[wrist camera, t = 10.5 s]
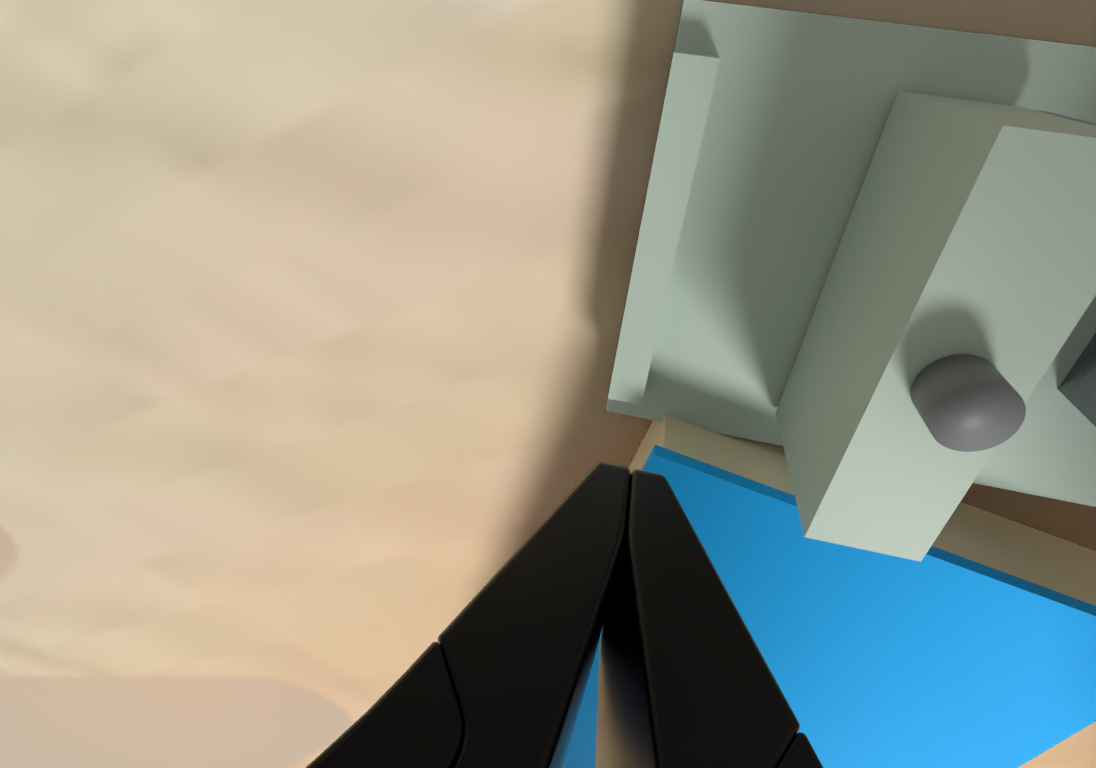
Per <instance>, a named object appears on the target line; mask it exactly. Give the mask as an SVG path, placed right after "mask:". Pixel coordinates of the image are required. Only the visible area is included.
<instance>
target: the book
mask: <svg viewBox="0 0 1096 768" xmlns="http://www.w3.org/2000/svg"><path fill="white" fill-rule="evenodd" d="M628 469H629V471H630V474H631V472H632V471H633V470H635V469H639V470H643V471H648V472H653V473H658V474H661V475H663V476H664V477H665V478H666V479H667V481H668V483H669V485H670V486H671V488H672V490H673V492H674V494H675V496H676V497H677V499H678V501H679V503H680V505H681V507H682V508H683V510H684V512H685V514H686V516H687V518H688V519H689V521H690V523H691V525H692V527H693V529H694V531H695V532H696V534H697V536H698V538H699V540H700V542H701V543H702V545H703V547H704V549H705V551H706V553H707V554H708V556H709V558H710V560H711V562H712V564H713V566H714V567H715V569H716V571H717V573H718V575H719V577H720V578H721V580H722V582H723V584H724V586H725V588H726V589H727V591H728V593H729V595H730V597H731V599H732V601H733V602H734V604H735V606H736V608H737V610H738V612H739V613H740V615H741V617H742V619H743V621H744V623H745V624H746V626H747V628H748V630H749V632H750V634H751V636H752V637H753V639H754V641H755V643H756V645H757V647H758V648H759V650H760V652H761V654H762V656H763V658H764V659H765V661H766V663H767V665H768V667H769V669H770V670H771V672H772V674H773V676H774V678H775V680H776V682H777V683H778V685H779V687H780V689H781V691H782V693H783V694H784V696H785V698H786V700H787V702H788V704H789V705H790V707H791V709H792V711H793V713H794V715H795V717H796V718H797V720H798V722H799V724H800V729H799V731H798V733H799V732H802V733H804V734H805V735H806V736H807V738H808V740H809V742H810V744H811V745H812V747H813V749H814V751H815V753H816V755H817V757H818V759H819V760H820V762H821V764H822V766H823V768H1017V767H1019V766H1021V765H1022V764H1024V763H1026V762H1027V761H1029V760H1031V759H1032V758H1034V757H1036V756H1038V755H1039V754H1041V753H1043V752H1044V751H1046V750H1048V749H1049V748H1051V747H1053V746H1054V745H1056V744H1058V743H1059V742H1061V741H1063V740H1065V739H1066V738H1068V737H1070V736H1071V735H1073V734H1075V733H1076V732H1078V731H1080V730H1081V729H1083V728H1085V727H1086V726H1088V725H1090V724H1092V723H1093V722H1095V721H1096V551H1094V550H1091V549H1089V548H1086V547H1083V546H1080V545H1078V544H1075V543H1072V542H1069V541H1067V540H1064V539H1061V538H1059V537H1056V536H1053V535H1050V534H1048V533H1045V532H1042V531H1040V530H1037V529H1034V528H1031V527H1029V526H1026V525H1023V524H1020V523H1018V522H1015V521H1012V520H1010V519H1007V518H1004V517H1001V516H999V515H996V514H993V513H990V512H988V511H985V510H982V509H980V508H977V507H974V506H971V505H969V504H966V503H963V502H960V503H959V505H958V506H957V508H956V509H955V511H954V512H953V514H952V515H951V517H950V518H949V520H948V521H947V523H946V524H945V526H944V527H943V529H942V531H941V532H940V534H939V535H938V537H937V538H936V540H935V541H934V543H933V544H932V546H931V547H930V549H929V550H928V552H927V553H926V555H925V556H924V558H923V560H922V561H921V562H920V561H915V560H910V559H906V558H901V557H896V556H891V555H887V554H882V553H877V552H873V551H868V550H863V549H858V548H854V547H849V546H844V545H839V544H835V543H830V542H825V541H820V540H816V539H811V538H806V537H804V533H803V529H802V524H801V520H800V516H799V512H798V507H797V503H796V499H795V495H794V490H793V486H792V482H791V477H790V473H789V469H788V465H787V460H786V456H785V452H784V448H783V446H781V445H776V444H771V443H766V442H761V441H756V440H751V439H746V438H740V437H735V436H730V435H725V434H720V433H715V432H711V431H708V430H705V429H703V428H700V427H697V426H695V425H692V424H689V423H686V422H684V421H681V420H678V419H675V418H673V417H670V416H667V415H665V417H664V419H663V421H662V422H659V421H654V420H653V421H652V423H651V425H650V427H649V429H648V431H647V433H646V435H645V437H644V438H643V440H642V442H641V444H640V446H639V448H638V450H637V452H636V454H635V456H634V458H633V460H632V462H631V464H630V466H629V468H628ZM601 633H602V630H601ZM600 641H601V635H600V639H599V643H598V647H597V650H596V654H595V658H594V662H593V665H592V669H591V672H590V676H589V679H588V683H587V686H586V689H585V693H584V696H583V700H582V703H581V707H580V710H579V714H578V717H577V720H576V724H575V727H574V731H573V734H572V738H571V741H570V745H569V748H568V751H567V755H566V758H565V762H564V765H563V768H595V764H596V735H597V706H598V677H599V655H600Z"/></svg>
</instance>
